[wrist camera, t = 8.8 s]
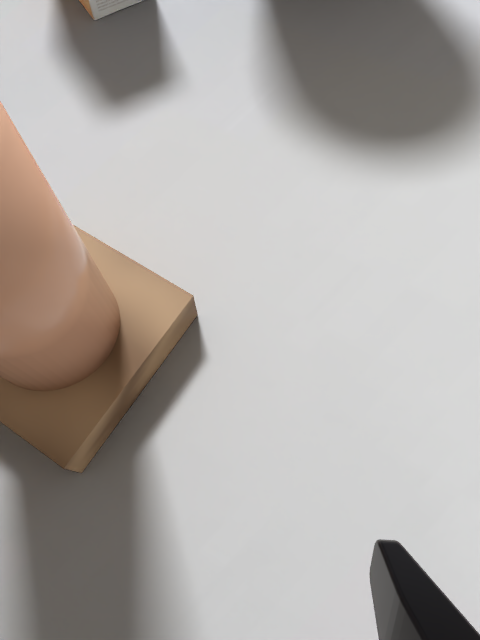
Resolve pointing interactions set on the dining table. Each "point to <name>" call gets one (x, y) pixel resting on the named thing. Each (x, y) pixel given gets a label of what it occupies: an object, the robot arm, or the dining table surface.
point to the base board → (104, 365)
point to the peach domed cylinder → (46, 281)
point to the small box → (105, 6)
